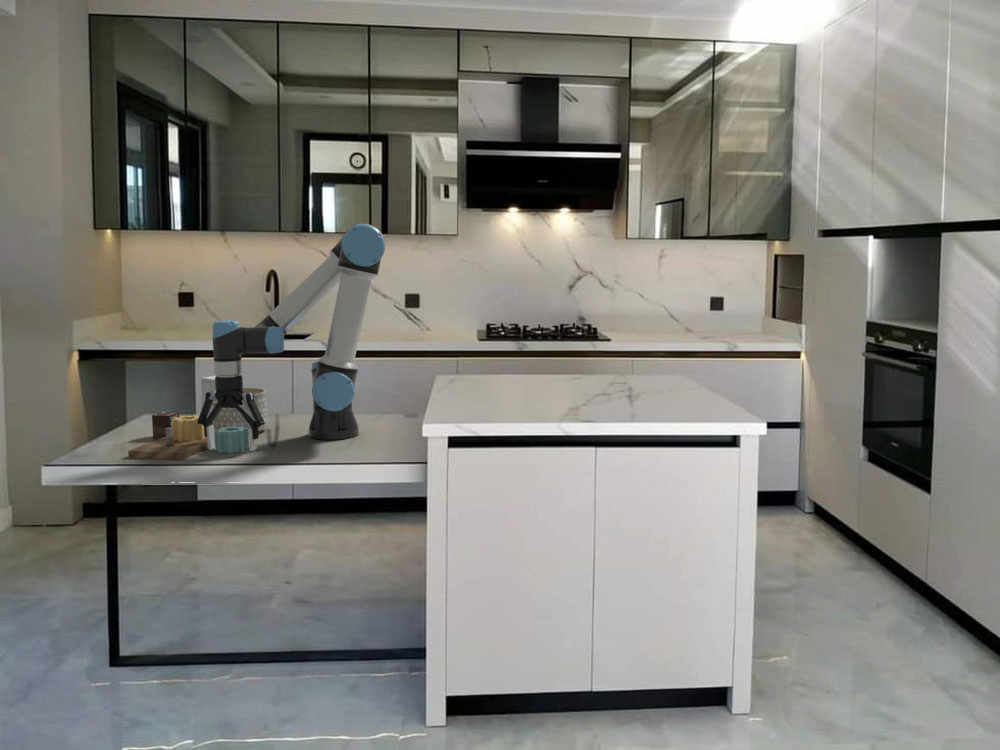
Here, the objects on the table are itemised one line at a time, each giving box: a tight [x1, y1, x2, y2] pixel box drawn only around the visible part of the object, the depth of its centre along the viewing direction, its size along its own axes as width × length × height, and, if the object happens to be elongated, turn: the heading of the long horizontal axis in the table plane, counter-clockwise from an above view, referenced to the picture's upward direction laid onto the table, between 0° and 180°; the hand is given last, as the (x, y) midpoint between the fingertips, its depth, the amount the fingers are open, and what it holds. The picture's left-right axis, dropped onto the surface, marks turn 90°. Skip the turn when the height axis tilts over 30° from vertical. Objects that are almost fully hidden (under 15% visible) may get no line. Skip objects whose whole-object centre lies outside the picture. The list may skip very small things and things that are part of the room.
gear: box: [214, 426, 250, 454], centre depth 266 cm, size 9×9×6 cm
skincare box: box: [200, 375, 217, 424], centre depth 308 cm, size 8×6×15 cm
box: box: [151, 411, 180, 440], centre depth 285 cm, size 6×6×7 cm
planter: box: [212, 387, 269, 434], centre depth 291 cm, size 16×16×13 cm
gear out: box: [171, 414, 205, 442], centre depth 273 cm, size 9×9×6 cm
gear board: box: [127, 428, 215, 461], centre depth 268 cm, size 16×26×7 cm, turn 167°
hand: (232, 449), depth 266 cm, fingers open, 12 cm apart
